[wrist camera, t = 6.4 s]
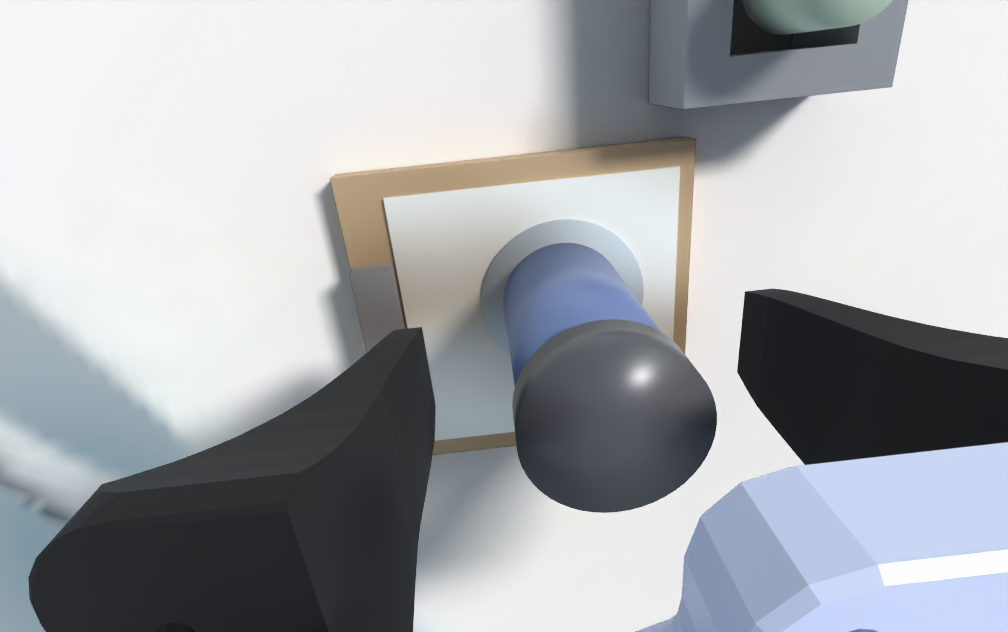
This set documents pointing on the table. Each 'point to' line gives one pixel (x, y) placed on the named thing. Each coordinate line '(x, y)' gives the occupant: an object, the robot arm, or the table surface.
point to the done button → (810, 14)
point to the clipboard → (508, 256)
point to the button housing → (763, 57)
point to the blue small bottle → (599, 386)
